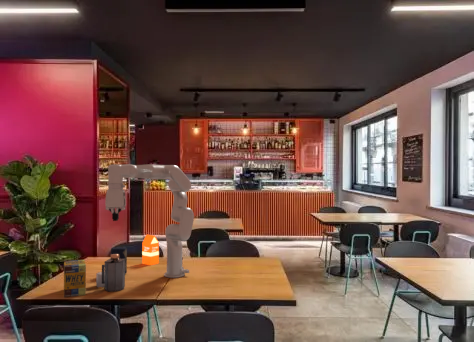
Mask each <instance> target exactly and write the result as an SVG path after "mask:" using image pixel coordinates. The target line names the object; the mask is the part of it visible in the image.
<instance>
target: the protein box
mask: <svg viewBox="0 0 474 342" xmlns="http://www.w3.org/2000/svg"><path fill="white" fill-rule="evenodd" d="M63 262H64V263H63V298H70V297H71V298H72V297H77V296H78V297H79V296H86V295H87V293H86V291H87V290H86V289H87V288H86V286H87V284H86V283H87V282H86V281H87V277H86V276H87V273H86V272H87V265H86V260H85V259H76V260H65V261H63Z"/></svg>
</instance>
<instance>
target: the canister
mask: <svg viewBox="0 0 474 342" xmlns="http://www.w3.org/2000/svg"><path fill="white" fill-rule="evenodd" d="M127 251H128V248H127V247H126V246H124V245H123V246H122V245H116V246H114V247H111V249H110V255H111V254H119V259H125V275H126V274H127V272H128V268H127V267H128V262H127V261H128V254H127V253H128V252H127Z"/></svg>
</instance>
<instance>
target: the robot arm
mask: <svg viewBox="0 0 474 342" xmlns="http://www.w3.org/2000/svg"><path fill="white" fill-rule="evenodd" d="M107 173H108V175H107V176H108V177H107V179H108V181H107V182H108V184H107V186H108V187H107V190H106V194H105V204H104V205H105V210H107V211H109V212H110V213H111V214H112V215H111V217H112V218H111V219H112V221H113V222H117V221H118V220H119V219H120V218H119V217H120V215H119V214H120V212H122V211H124V210H126V206H127V199H126V191H125V189H124V188H126V185H125V184H124V181H123V179H125V178H126V179H128V178H129V179H133V178H134V179H145V180H169V181H168V182H167V184H168V188H169V190H170V191H171V193H172V196H173V203H172V208H171V214H170V218H171V220H172V221H173V222H176V223H171V224H169V225H167V226H166V227H165V230H164V235H165V240H166V241H165V242H166V272H164V273H163V276H164V277H165V278H172V279H175V278H181V277H184V276H185V274H189V273H190V269H187V268H184V266H183V242H186V241H188V240H189V239H190V237H191V234H192V230H193V227H194V226H193V225H194V220H195V213H194V211H193V209H191V208H190V207H187V205H188V195H187V192H189V191H190V190H191V188H192V181H191V180H190V179H189V177H188V176H187V175H186V174H185V172H183V170H182V169H181V168H180V167H179V166H178V165H175V164H151V163H149V164H131V163H127V164H110V165H108V170H107Z"/></svg>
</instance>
